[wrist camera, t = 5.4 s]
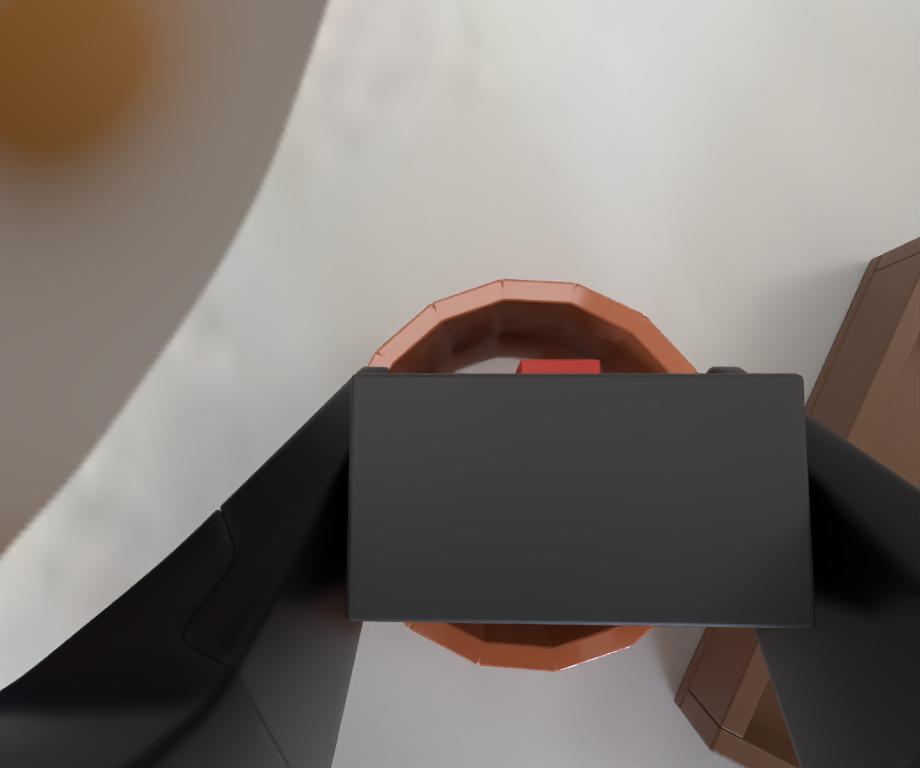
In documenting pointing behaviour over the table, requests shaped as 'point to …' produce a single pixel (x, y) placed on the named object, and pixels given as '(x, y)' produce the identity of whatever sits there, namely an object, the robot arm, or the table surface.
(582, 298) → the holder cup
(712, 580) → the dark grey block
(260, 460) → the table surface
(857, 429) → the tray
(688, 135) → the table surface
